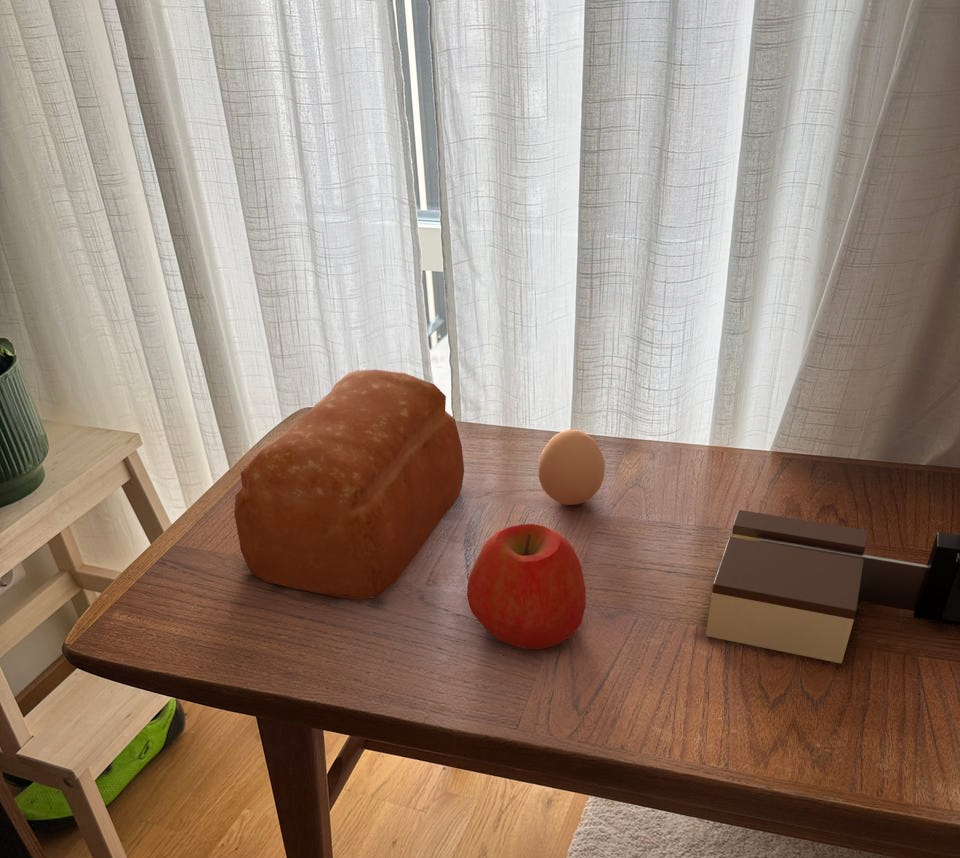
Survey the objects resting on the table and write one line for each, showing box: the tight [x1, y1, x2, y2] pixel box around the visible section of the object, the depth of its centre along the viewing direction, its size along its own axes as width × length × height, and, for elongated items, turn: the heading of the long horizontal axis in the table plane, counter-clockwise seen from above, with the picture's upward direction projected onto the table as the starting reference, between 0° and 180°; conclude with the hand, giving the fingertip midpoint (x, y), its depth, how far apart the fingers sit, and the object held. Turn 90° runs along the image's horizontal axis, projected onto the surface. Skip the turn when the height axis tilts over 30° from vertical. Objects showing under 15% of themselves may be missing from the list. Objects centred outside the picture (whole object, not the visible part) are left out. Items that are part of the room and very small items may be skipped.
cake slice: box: [731, 509, 868, 555], centre depth 89 cm, size 12×3×6 cm, turn 68°
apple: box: [466, 523, 587, 650], centre depth 84 cm, size 11×11×11 cm
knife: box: [758, 531, 960, 627], centre depth 84 cm, size 22×2×8 cm, turn 69°
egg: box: [537, 429, 606, 506], centre depth 101 cm, size 7×7×8 cm
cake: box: [705, 536, 863, 664], centre depth 84 cm, size 12×8×6 cm, turn 68°
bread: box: [233, 369, 465, 600], centre depth 96 cm, size 17×24×15 cm
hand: (958, 608), depth 84 cm, fingers closed on knife, 2 cm apart
